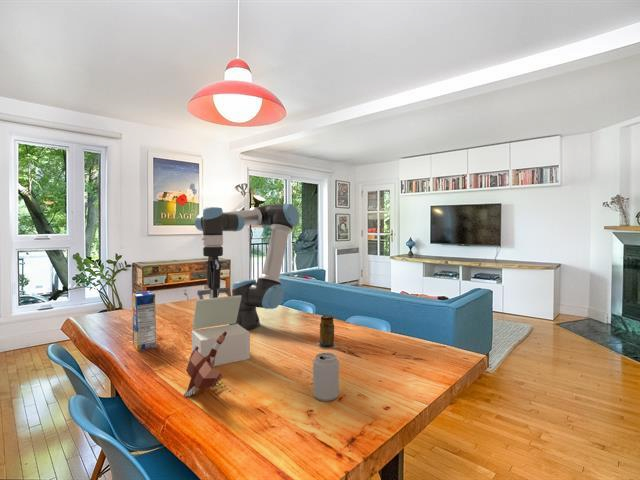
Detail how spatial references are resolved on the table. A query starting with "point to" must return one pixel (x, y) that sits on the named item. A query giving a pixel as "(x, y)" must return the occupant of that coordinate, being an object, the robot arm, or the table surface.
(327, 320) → the condiment
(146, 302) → the beverage box
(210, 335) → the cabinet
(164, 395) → the table surface
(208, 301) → the lid flap
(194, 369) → the decorative bird
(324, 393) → the can
